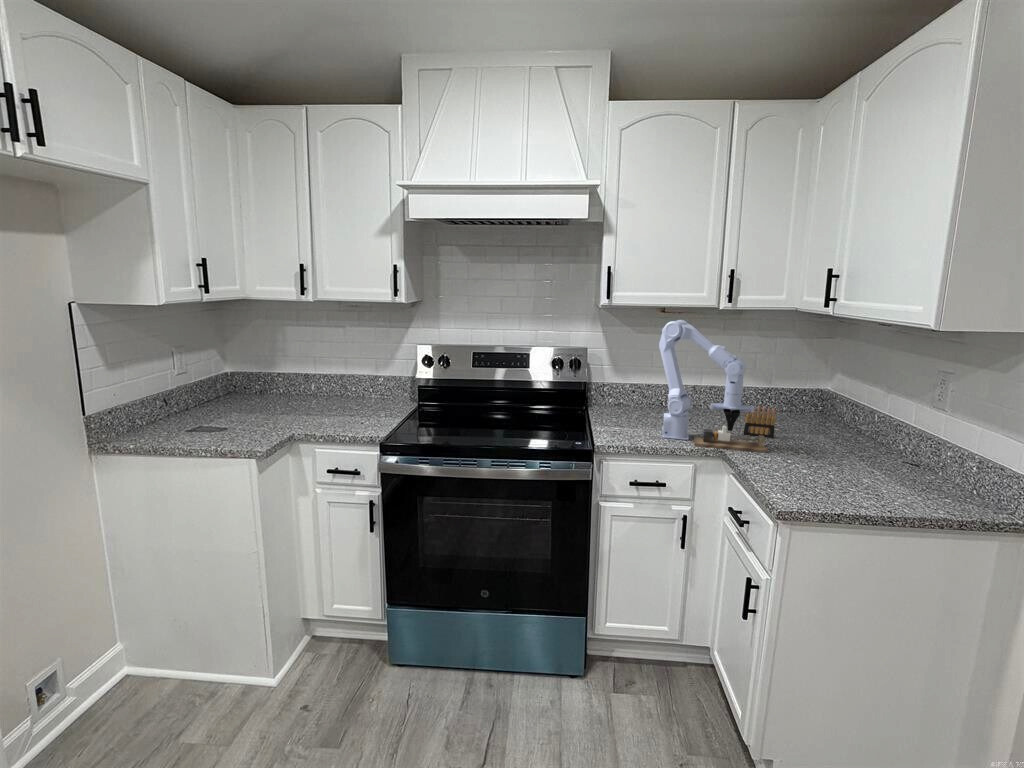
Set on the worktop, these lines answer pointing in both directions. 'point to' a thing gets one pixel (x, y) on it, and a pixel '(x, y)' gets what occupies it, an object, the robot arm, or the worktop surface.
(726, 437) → the white slotted bracket
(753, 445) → the rail board
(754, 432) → the ammunition clip
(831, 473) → the worktop surface
